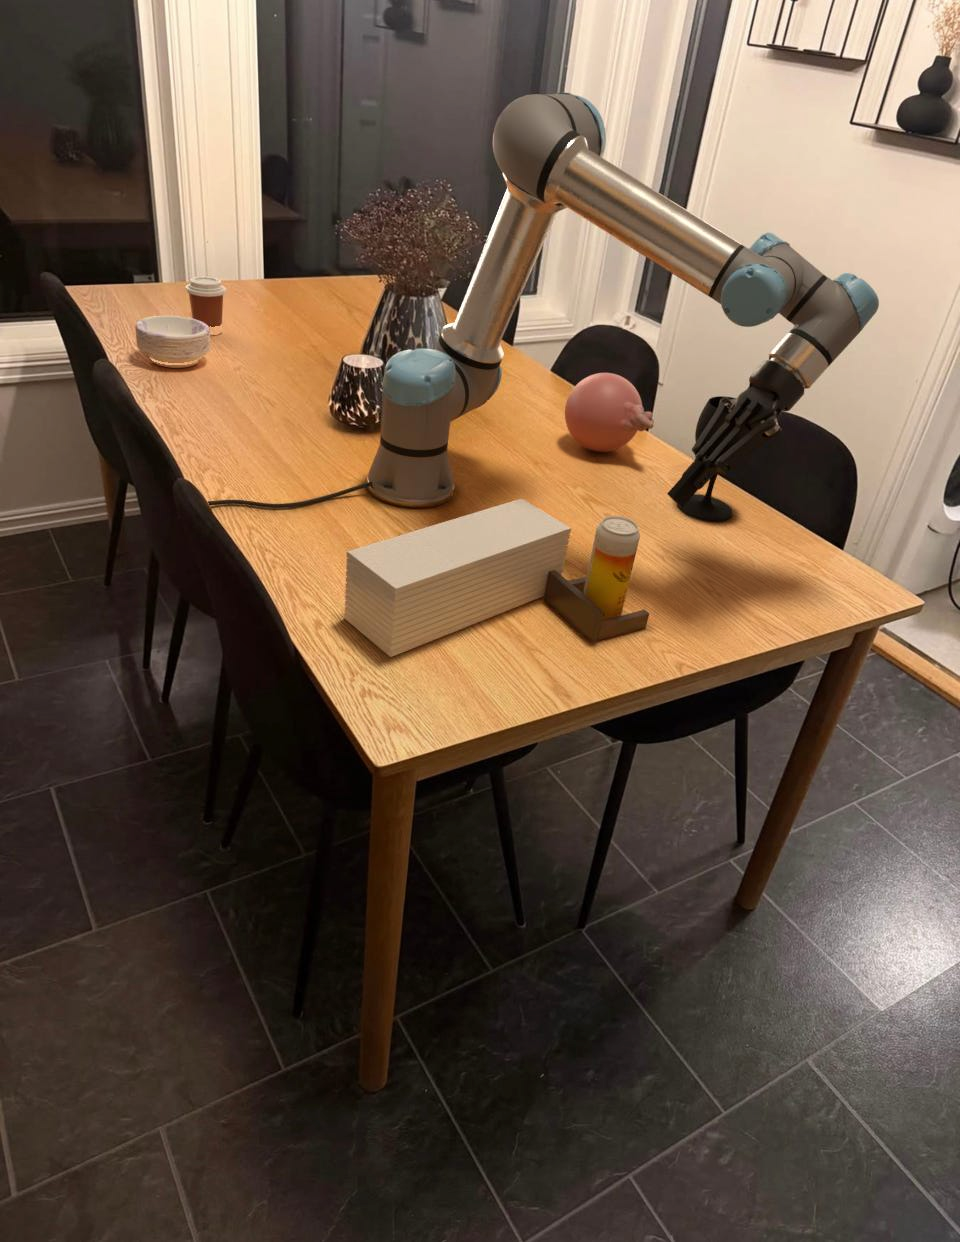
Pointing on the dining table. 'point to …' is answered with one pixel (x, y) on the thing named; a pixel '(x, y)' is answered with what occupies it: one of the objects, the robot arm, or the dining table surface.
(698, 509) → the wine glass
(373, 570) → the stack of papers
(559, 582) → the brown wooden u-shaped frame
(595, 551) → the beer can
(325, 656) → the dining table surface
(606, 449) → the balloon
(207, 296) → the coffee cup
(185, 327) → the paper bowls
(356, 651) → the dining table surface
